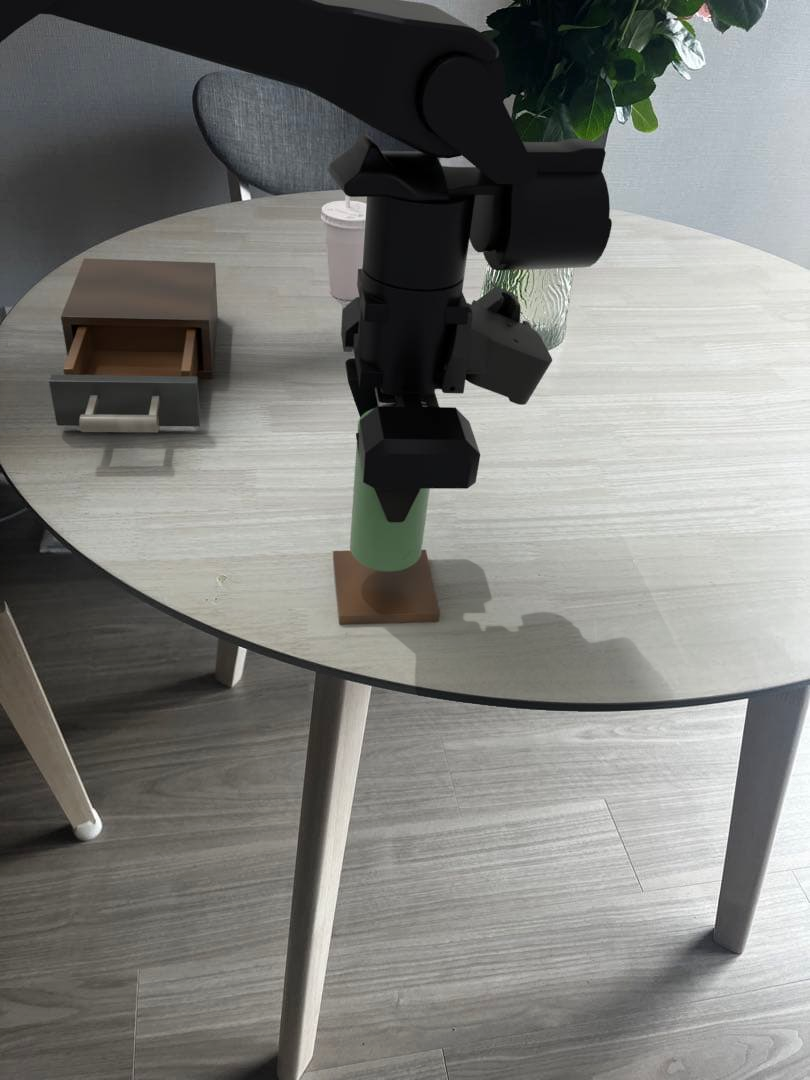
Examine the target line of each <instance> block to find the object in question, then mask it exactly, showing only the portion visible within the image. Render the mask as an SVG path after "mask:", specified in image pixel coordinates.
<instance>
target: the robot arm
mask: <svg viewBox="0 0 810 1080" xmlns="http://www.w3.org/2000/svg"><path fill="white" fill-rule="evenodd" d="M39 15H48V16H49V15H50V16H53V17H58V18H62V19H65V20H69V21H72V22H75V23H79V24H81V25H85V26H89V27H93V28H94V29H95V28H96V29H99V30H103V31H106V32H109V33H112V34H116V35H119V36H123V37H125V38H129V39H133V40H136V41H139V42H143V43H146V44H150V45H153V46H157V47H160V48H163V49H167V50H171V51H174V52H177V53H181V54H184V55H187V56H190V57H194V58H197V59H201V60H204V61H207V62H211V63H214V64H217V65H221V66H225V67H228V68H231V69H235V70H239V71H242V72H245V73H248V74H251V75H256V76H258V77H262V78H264V79H265V78H266V79H268V80H272V81H275V82H279V83H281V84H285V85H289V86H292V87H295V88H299V89H302V90H306V91H308V92H310V93H312V94H313V95H316V96H317V97H318V98H319V97H320V98H321V99H324V100H325V101H327V102H329V103H331V104H333V105H334V106H336V107H337V108H339V109H341V110H343V111H344V112H346V113H348V114H349V115H351V116H352V117H355V118H356V119H357V120H360V121H361V122H363V123H364V124H366V125H368V126H370V127H372V128H373V129H375V130H377V131H378V132H380V133H383V134H385V135H387V136H388V137H390V138H393V139H394V140H397V141H399V142H401V143H402V144H405V145H406V146H408V147H411V148H412V149H414V150H416V151H407V150H405V151H404V150H403V151H401V150H400V151H398V150H397V151H395V150H394V151H393V150H391V151H389V150H388V151H387V150H385V151H384V150H381V149H380V147H379V145H378V144H376V142H375V141H374V140H373V139H372V138H371V137H370V136H369V135H368V134H367V133H361V134H360V135H358V137H357V139H356V141H355V142H354V144H352V145H351V147H350V148H349V149H348V150H346V151H344V152H343V153H342V154H340V155H339V156H338V157H337V158H336V159H334V160H333V161H331V162H330V163H329V165H328V173H329V175H330V176H331V177H332V179H333V181H335V182H336V184H337V185H338V186H339V188H340V189H341V191H342V192H343V193H344V195H345V194H346V195H347V196H349V197H350V198H365V197H366V204H367V205H366V221H365V237H364V253H363V266H362V269H358V278H357V288H358V293H359V297H356V298H355V299H354V300H351V301H350V302H349V303H348V304H347V305H346V306H344V308H342V310H341V328H340V330H341V331H340V336H341V344H342V350H343V352H344V353H353V356H354V358H349V359H346V361H345V362H344V365H345V370H346V377H347V384H348V387H349V389H350V392H351V395H352V398H353V402H354V404H355V408H356V409H357V412H358V416H359V418H360V417H361V416H362V415H363V414H364V413H366V412H367V411H369V410H371V409H373V410H372V411H371V412H370V413H368V414H367V415H366V416H365V417H363V418H362V419H361V420H360V425H359V433H357V432H355V440H356V447H357V446H358V453H359V459H360V465H361V472H362V479H363V483H365V484H367V485H369V486H371V487H373V488H374V490H375V492H376V495H377V497H378V500H379V502H380V504H381V507H382V509H383V512H384V514H385V517H386V519H387V521H388V522H404V521H405V519H406V517H407V515H408V513H409V511H410V509H411V507H412V505H413V503H414V501H415V499H416V497H417V495H418V493H419V491H420V489H421V488H424V489H430V490H432V489H435V490H436V489H438V490H439V489H440V490H441V489H442V490H443V489H448V490H449V489H451V490H452V489H454V490H455V489H459V490H460V489H461V490H462V489H465V490H467V489H469V488H470V487H472V486H473V485H475V484H476V482H477V477H478V473H479V472H478V471H479V465H480V461H481V460H480V459H481V452H480V449H479V446H478V443H477V441H476V437H475V434H474V432H473V428H472V426H471V423H470V421H469V420H468V419H467V417H465V416H464V414H463V413H462V412H461V411H460V410H459V409H458V408H457V407H454V406H453V407H451V406H449V407H448V406H447V407H446V406H440V404H439V401H438V398H437V394H436V390H441V392H442V393H443V394H464V392H465V387H466V386H465V385H466V381H467V382H468V383H470V384H472V385H474V386H476V387H479V388H481V389H484V390H487V391H490V392H491V393H494V394H497V395H501V396H503V397H506V398H508V401H509V402H510V403H512V404H515V405H521V406H523V405H527V404H528V402H529V401H530V399H531V397H532V396H533V394H534V392H535V390H536V389H537V388H538V386H539V384H540V382H541V380H542V379H543V376H544V375H545V374H546V372H547V370H548V369H549V367H550V366H551V364H552V362H553V357H552V355H551V354H550V352H549V350H548V348H547V345H545V342H544V340H543V338H542V337H541V335H540V334H539V332H538V331H536V330H535V329H533V327H532V326H531V324H530V322H529V321H527V320H523V321H522V322H521V304H520V302H519V300H518V298H517V296H516V295H515V293H513V292H512V291H510V290H507V289H504V288H502V287H500V286H494V287H493V288H491V289H490V290H489V291H487V292H486V293H485V294H483V296H481V297H480V298H478V299H477V300H475V299H473V300H472V302H471V303H469V302H467V300H466V298H465V295H464V292H463V287H464V281H465V275H466V274H465V273H466V267H467V259H468V251H469V246H470V245H471V247H472V248H473V249H474V251H475V252H477V253H482V254H483V257H484V259H485V261H486V262H487V264H488V266H489V267H490V268H491V269H492V270H494V271H497V272H498V271H525V270H527V271H528V270H551V269H552V270H553V269H554V270H555V269H579V268H590V267H592V266H594V265H595V264H596V263H597V262H598V261H599V260H600V258H602V256H603V254H604V252H605V250H606V248H607V245H608V242H609V239H610V236H611V232H612V226H613V222H612V219H611V218H610V211H611V206H610V194H609V188H608V184H607V181H606V178H605V175H604V173H603V167H604V162H605V157H606V153H607V152H606V150H605V148H603V146H600V145H599V144H597V143H595V142H594V141H592V140H591V139H589V138H566V139H563V140H559V141H547V142H546V141H523V140H522V138H521V136H520V133H519V132H518V129H517V128H516V126H515V124H514V122H513V119H512V117H511V116H510V113H509V112H508V109H507V107H506V105H505V103H504V101H505V97H506V92H507V82H506V81H507V80H506V68H505V66H504V62H503V59H502V56H501V54H500V49H499V47H498V46H497V44H496V43H495V42H494V40H492V38H490V37H489V36H488V35H486V34H484V33H483V32H481V31H479V30H477V29H476V28H474V27H473V26H470V25H468V24H467V23H465V22H463V21H462V20H460V19H458V18H456V17H454V16H452V15H451V14H449V13H448V12H446V11H444V10H442V9H441V8H439V7H437V6H435V5H433V4H428V3H424V2H418V1H411V0H410V1H409V0H0V44H1V43H2V42H3V41H4V40H6V39H7V38H9V37H10V36H11V35H13V33H15V32H16V31H17V30H18V29H20V28H21V27H22V26H24V25H25V24H27V23H28V22H30V21H32V20H33V19H35V18H36V17H38V16H39ZM461 156H462V157H463V158H465V159H466V160H467V161H468V162H469V163H470V164H472V165H473V166H446V165H445V166H444V165H442V163H441V162H440V161H441V160H440V159H452V158H459V157H461Z"/></svg>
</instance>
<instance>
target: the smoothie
mask: <svg viewBox="0 0 810 1080" xmlns="http://www.w3.org/2000/svg"><path fill="white" fill-rule="evenodd" d="M366 205H367V202H366V203H365V202H361V201H356V200H351V197H349V196H347V195H346V194H345V193H344V200H335V201H329V202H327V203H325V204H323V205H322V207H321V214H320V218H321V220H322V221H323V225H324V236H325V244H326V256H327V267H328V277H329V288H330V289H329V290H330V295H331V296H332V297H333V298H336V299H339V300H341V301H342V300H344V301H353V300H354V299H355V298H356V297H359V293H358V288H357V278H358V269H362V266H363V253H364V237H365V221H366Z"/></svg>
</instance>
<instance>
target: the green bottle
mask: <svg viewBox="0 0 810 1080" xmlns="http://www.w3.org/2000/svg"><path fill="white" fill-rule="evenodd" d="M372 410H373V409H371V410H369V411H367V412H366V413H364V414H363V415H362V416H361V417H360V416H359V419H358V422H357V432H356V433H359V425H360V420H361V419H362V418H363V417H365V416H366V415H367V414H368V413H370V412H371V411H372ZM355 448H356V449H355V462H354V464H355V465H354V476H353V477H354V479H353V481H354V482H353V495H352V508H351V524H350V537H349V551H351V553H352V555H353V556H354V558H355V559H356V560H357V561H358V562H359V563H361V564H362V565H364V566H366V567H368V568H371V569H374V570H378V571H387V572H391V571H399V570H403V569H406V568H408V567H410V566H412V565H414V564H415V563H416V562H417V561H418V559H419V558H420V556H421V551H422V550H423V544H424V537H425V527H426V519H427V512H428V505H429V504H428V503H429V497H430V490H431V489H424V488H421V489H420V491H419V493H418V495H417V497H416V499H415V501H414V503H413V505H412V507H411V509H410V511H409V513H408V515H407V517H406V519H405V521H404V522H388V521H387V519H386V517H385V514H384V512H383V509H382V507H381V504H380V502H379V500H378V497H377V495H376V492H375V490H374V488H373V487H371V486H369V485H367V484H365V483H363V479H362V472H361V465H360V459H359V453H358V446H357V445H356V447H355Z"/></svg>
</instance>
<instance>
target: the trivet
mask: <svg viewBox="0 0 810 1080" xmlns="http://www.w3.org/2000/svg"><path fill="white" fill-rule="evenodd" d="M332 564H333V566H332V567H333V576H334V586H335V597H336V598H335V599H336V608H337V609H336V610H337V618H338V624H339V625H350V624H351V625H352V624H354V625H355V624H357V625H358V624H391V623H392V624H393V623H395V624H397V623H428V622H429V623H430V622H431V623H432V622H433V623H434V622H440V617H441V616H440V615H441V612H440V606H439V603H438V598H437V593H436V589H435V585H434V580H433V576H432V571H431V567H430V561H429V557H428V552H427V549H422V551H421V556H420V558H419V559H418V561H417V562H416V563H415V564H414V565H412V566H410V567H408V568H406V569H403V570H399V571H391V572H387V571H378V570H374V569H371V568H368V567H366V566H364V565H362V564H361V563H359V562H358V561H357V560H356V559H355V558H354V556H353V555H352V553H351V550H333V551H332Z"/></svg>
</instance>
